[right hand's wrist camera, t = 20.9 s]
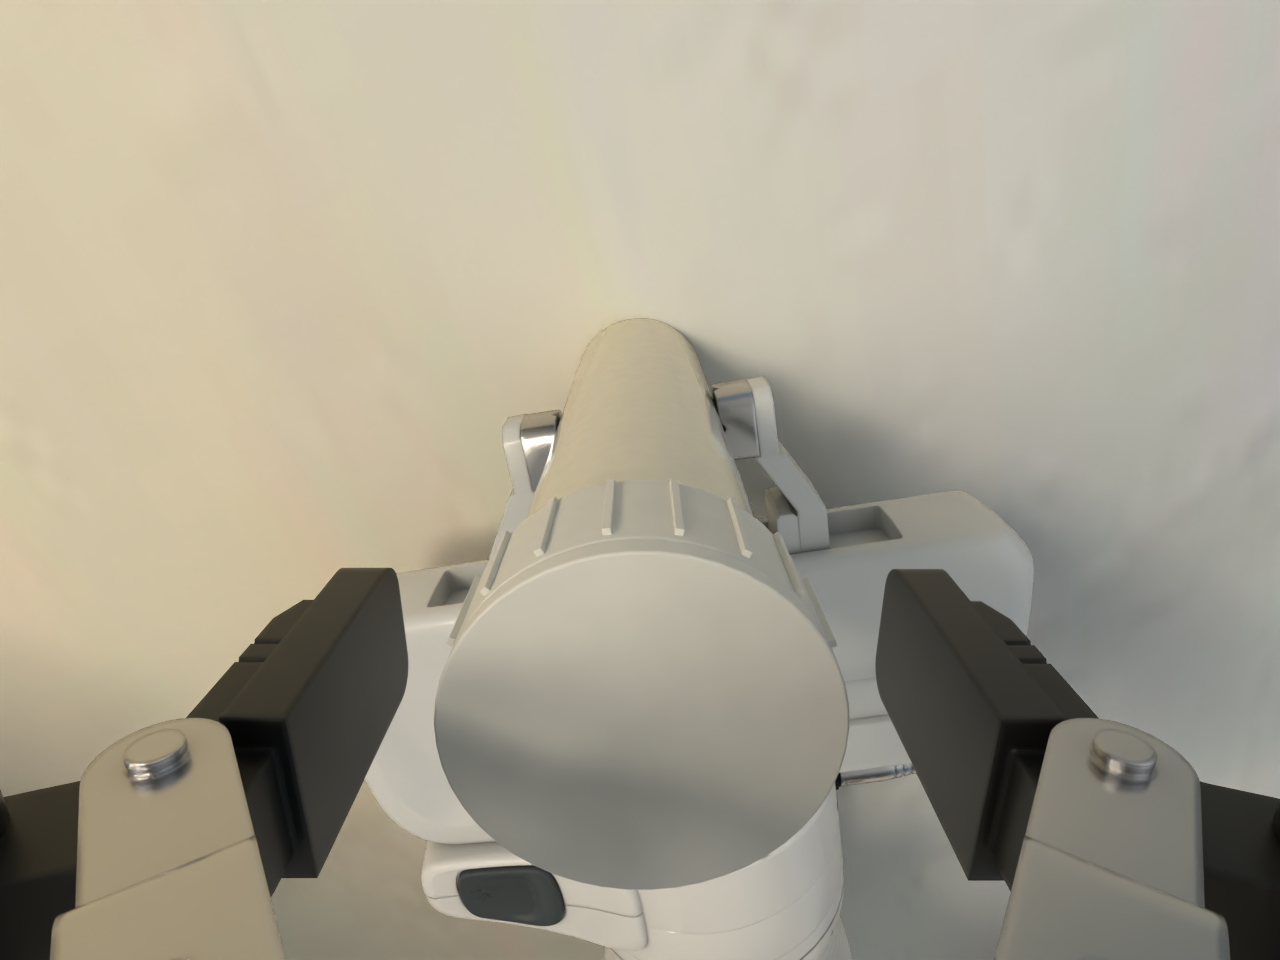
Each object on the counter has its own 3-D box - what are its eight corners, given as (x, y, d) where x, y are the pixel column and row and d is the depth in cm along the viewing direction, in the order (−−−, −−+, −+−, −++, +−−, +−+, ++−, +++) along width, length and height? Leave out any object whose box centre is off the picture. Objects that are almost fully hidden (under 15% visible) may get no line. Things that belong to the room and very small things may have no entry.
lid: (594, 821, 12) (585, 948, 10) (394, 590, 11) (335, 686, 9) (874, 680, 11) (927, 788, 9) (699, 404, 10) (714, 459, 8)
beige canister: (700, 315, 25) (814, 538, 9) (702, 436, 27) (802, 817, 10) (573, 321, 25) (454, 554, 9) (582, 441, 27) (495, 828, 11)
